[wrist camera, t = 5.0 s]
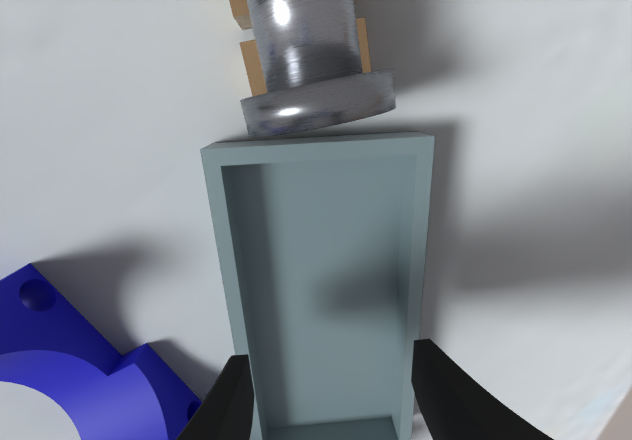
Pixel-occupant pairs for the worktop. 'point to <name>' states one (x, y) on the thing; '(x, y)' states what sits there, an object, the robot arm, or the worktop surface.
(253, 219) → the grey-blue rectangular tray
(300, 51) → the shaft
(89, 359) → the blue bearing cap
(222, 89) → the worktop surface
